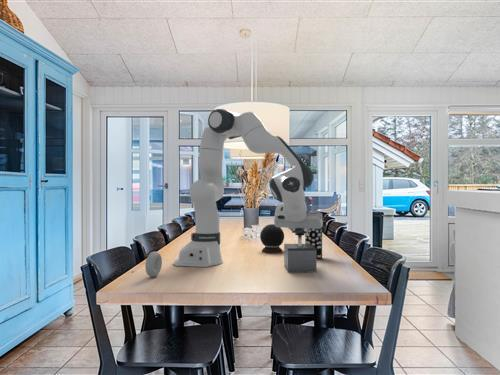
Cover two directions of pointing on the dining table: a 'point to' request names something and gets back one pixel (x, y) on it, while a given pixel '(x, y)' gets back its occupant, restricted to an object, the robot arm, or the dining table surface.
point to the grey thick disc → (153, 264)
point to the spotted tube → (315, 240)
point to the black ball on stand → (272, 239)
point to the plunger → (299, 235)
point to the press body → (300, 258)
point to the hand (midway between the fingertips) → (300, 232)
